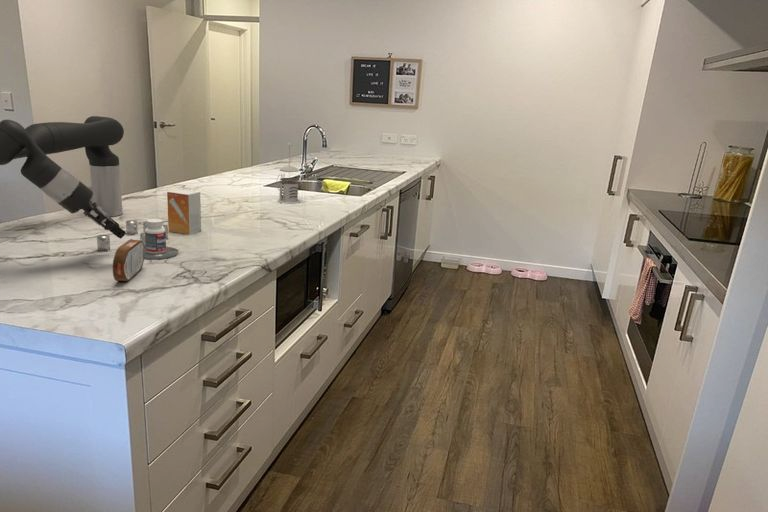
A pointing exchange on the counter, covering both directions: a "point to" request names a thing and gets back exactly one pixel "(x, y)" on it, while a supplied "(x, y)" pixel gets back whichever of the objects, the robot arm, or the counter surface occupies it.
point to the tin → (128, 260)
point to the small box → (184, 211)
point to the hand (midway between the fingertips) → (120, 231)
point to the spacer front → (166, 230)
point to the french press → (288, 185)
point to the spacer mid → (144, 226)
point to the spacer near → (103, 242)
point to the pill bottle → (155, 237)
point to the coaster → (169, 253)
